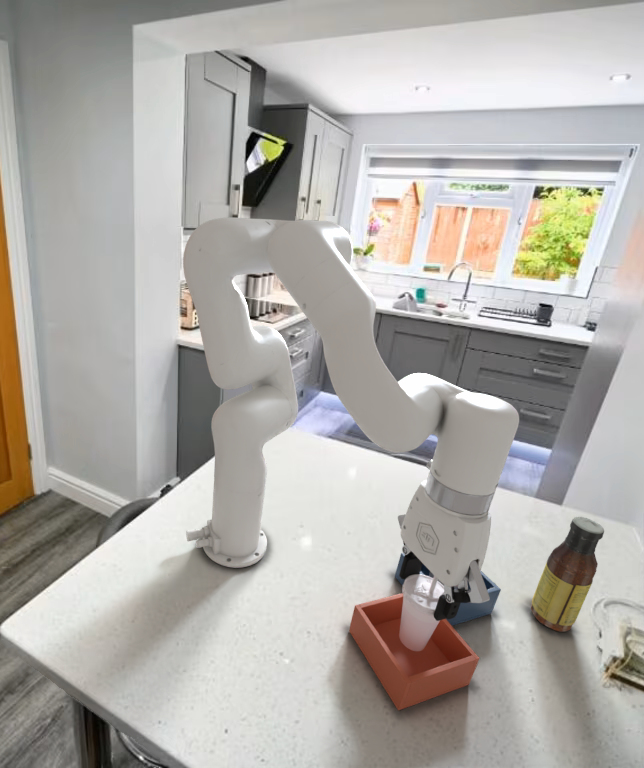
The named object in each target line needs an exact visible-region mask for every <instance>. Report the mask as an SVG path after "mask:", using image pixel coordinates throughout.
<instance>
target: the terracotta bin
mask: <svg viewBox="0 0 644 768" xmlns="http://www.w3.org/2000/svg"><path fill="white" fill-rule="evenodd" d="M403 596H404V595H403V592H402V593H397V594H393V595H390V596H386V597H382V598H379V599H378V598H377V599H373V600H371V601H367V602H363V603H359V604H355V605H354V608H353V612H352V615H351V616H352V617H351V621H350V626H349V630H348V632H349V633H350V635H351V636H352V638H353V640H354V642H355V643H356V644H357V647H358V648H359V650H360V651H361V653H362V655H363V656H364V657H365V659H366V661H367V663H368V664H369V666H370V667H371V669H372V670H373V672H374V674H375V676H376V677H377V679H378V681H379V682H380V684H381V686H382V687H383V688H384V690H385V692H386V693H387V695H388V696H389V698H390V700H391V702H392V703H393V704H394V706H395V708H396V709H397V711H401V710H404V709H407V708H409V707H412V706H414V705H418V704H420V703H422V702H425V701H429V700H431V699H433V698H437V697H439V696H442V695H445V694H447V693H450V692H453V691H455V690H456V691H457V690H459V689H461V688H464V687H466V686H469V685H470V683H471V681H472V678H473V677H474V674H475V671H476V668H477V666H478V664H479V661H480V659H481V658H480V657H479V656H478V654H477V653H476V652H475V651H474V650H473V649H472V647H471V646H470V645H469V643H467V642H466V640H465V639H464V638H463V637H462V636H461V635H460V633H458V631H457V630H456V629H455V628H454V626H453V625H452V626H451V624H450V623H449V622H448V621H447V620H446V619H443V620H440V621H439V623H438V625H437V627H436V628H435V630H434V632H433V634H432V635H431V637H430V639H429V641H428V642H427V644H426V646H425V648H424V649H423V650H421V651H413V650H410V649H408V648H407V647H406V646H404V645H403V643H402V642H401V640H400V638H399V632H400V624H401V615H402V606H403Z"/></svg>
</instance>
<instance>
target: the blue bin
mask: <svg viewBox="0 0 644 768" xmlns="http://www.w3.org/2000/svg"><path fill="white" fill-rule="evenodd" d="M404 556H405V554H404V553H403V552H401V553H400V556H399V560H398V563H397V567H396V570H395V574H394V578H396V580H397V581H398V582H399V584H400V585H401V586H403V584H404V581H405V579H401V577H400V576H399V574H400V570H401V567H402V563H403V560H404ZM480 572H481V575H482V578H483V580H484V583H485V586H486V589H487V591H488V594H489V597H490V600H489V601H486V602H483V603H461V604H460V606H459V609H458V612H457V615H456V616H455V617H454V618H452V619H447V618H446V620H447V621H448V622H449V623H450V624H451V626H452V627H453V626H456V625H458V624H463V623H465V622H468V621H469V622H470V621H471V620H475V619H478V618H482V617H485V616H488V615H491V614H493V610H494V609H495V608H494V607H495V606H496V603H497V602H498V598H499V596H500V593H501V592H502V589H501V588H500V587H499V586H498V585H497V584H496V583H495V582H494V581H493V580H492V579H491V578H489V576H488V575H486V574H485V573H484V572H483V571H482V570H481V571H480ZM429 573H430V570H429V569H428V568H427V567H426V566H425V565H424V564H422V567H421V571H420V575H426V576H429ZM467 582H468V579H467ZM468 590H471V588H470V585H469V582H468Z"/></svg>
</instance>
